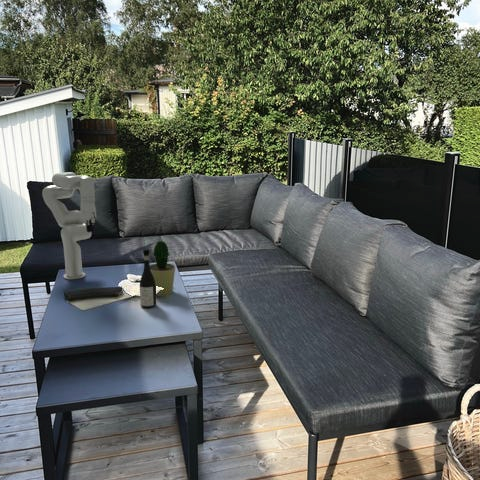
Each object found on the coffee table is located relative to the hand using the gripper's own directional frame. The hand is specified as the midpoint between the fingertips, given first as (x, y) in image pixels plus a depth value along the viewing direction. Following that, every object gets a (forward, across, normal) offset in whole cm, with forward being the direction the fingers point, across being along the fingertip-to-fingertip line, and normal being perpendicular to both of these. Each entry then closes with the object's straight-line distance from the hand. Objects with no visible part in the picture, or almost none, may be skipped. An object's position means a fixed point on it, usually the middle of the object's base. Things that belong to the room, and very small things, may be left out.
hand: (90, 231), depth 269 cm
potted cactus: (+32, +36, +22) cm, 53 cm away
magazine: (+30, +12, -7) cm, 33 cm away
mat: (+32, +22, -6) cm, 39 cm away
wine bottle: (+32, +48, +5) cm, 58 cm away
